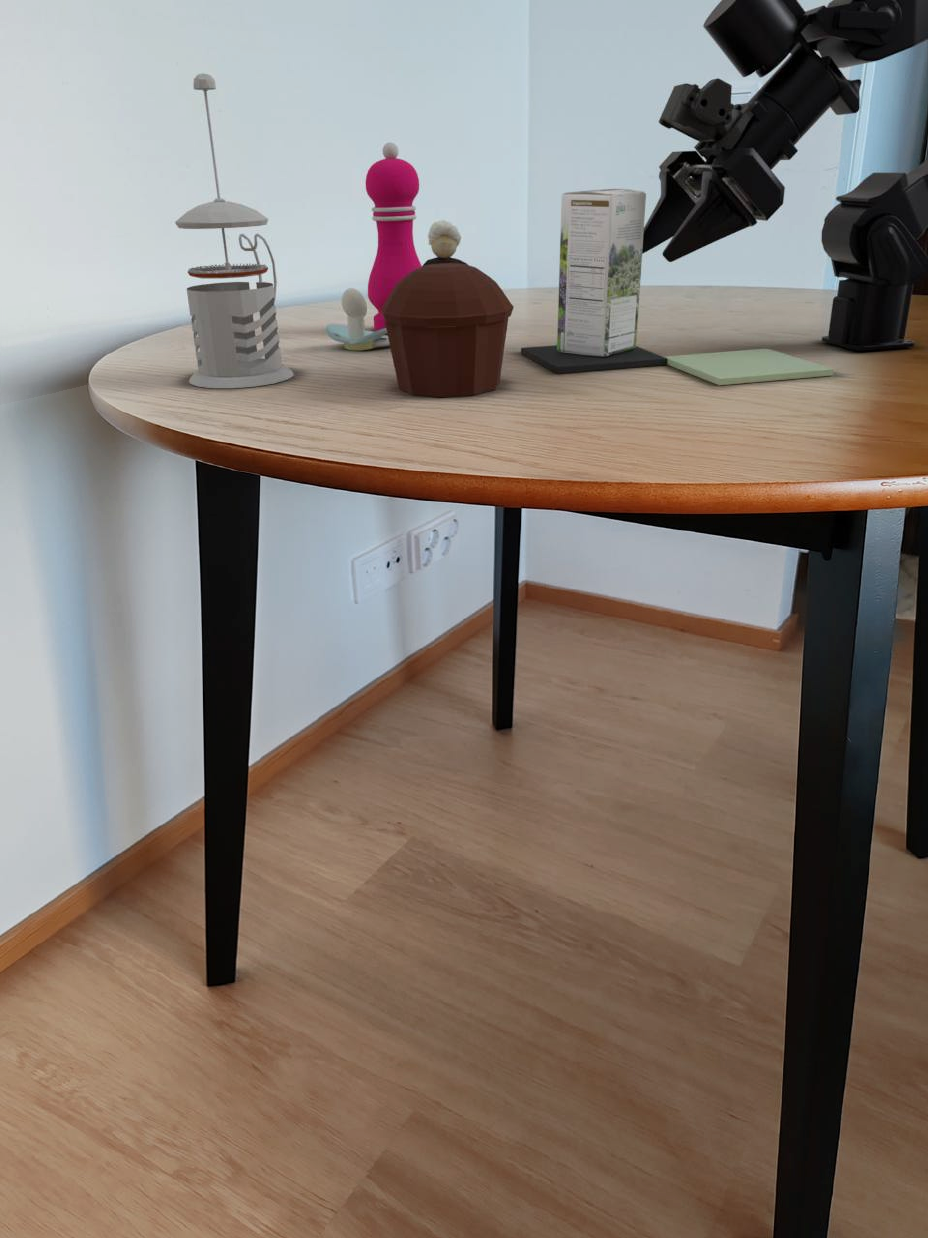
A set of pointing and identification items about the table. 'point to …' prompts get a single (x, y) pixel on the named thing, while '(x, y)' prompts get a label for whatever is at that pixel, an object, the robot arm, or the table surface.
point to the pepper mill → (391, 225)
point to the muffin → (447, 330)
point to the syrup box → (600, 271)
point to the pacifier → (356, 325)
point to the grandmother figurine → (443, 242)
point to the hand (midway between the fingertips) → (651, 254)
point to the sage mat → (747, 366)
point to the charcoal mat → (590, 359)
